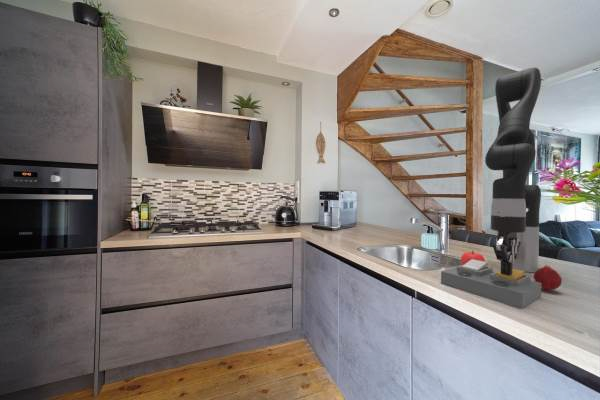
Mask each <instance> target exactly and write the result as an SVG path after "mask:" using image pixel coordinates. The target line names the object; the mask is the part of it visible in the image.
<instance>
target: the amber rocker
mask: <svg viewBox="0 0 600 400" xmlns="http://www.w3.org/2000/svg"><path fill="white" fill-rule="evenodd" d="M495 272H496V271H495ZM524 275H525V272H524V271H520V270H515V269H512V275H510V276H508V275H504V274H501V269H500V270H498V271H497V272H496V276H499V277H504V278H508V279H512V280H516V281H517V280H518V279H520V278H521V277H523V276H524Z"/></svg>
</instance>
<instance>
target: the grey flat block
mask: <svg viewBox="0 0 600 400" xmlns="http://www.w3.org/2000/svg"><path fill="white" fill-rule="evenodd" d="M462 266H463V265H458V266H455V267H452V268H451V267H450V268H447V269H444V270H440V271H441V272H440V284H441V285H445V286H447V287H448V286H449V287H451V288H454V289H458V290H461V291H464V292H467V293H470V294H473V295H477V296H479V297H484V298H486V299H489V300H492V301H496V302H499V303H502V304H505V305H508V306H511V307H515V308H518V309H521V310H524V309H525V308H527V307H528V306H530V305H531V304H532V303H534V302H535V301H537V300H539V299H540V298H541V297H542V287H541V283H540V282H536V281H535V280H531V275H527V274H524V276H523V277H521V278H520V279H518V280H517V281H516V280H512V279H508V278H504V277H499V276H496V271H494V270H493V269H494V267H491V266H487V267H486V268H484V269H483V270H481V271H474V270H470V269H466V268H462Z"/></svg>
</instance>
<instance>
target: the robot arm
mask: <svg viewBox="0 0 600 400" xmlns="http://www.w3.org/2000/svg"><path fill="white" fill-rule="evenodd" d="M541 76H542V74H541V71H540V69H539V68H538V67H529V68H526V69H523V70H519V71H515V72H511V73H508V74H506V75H501V76H499V77H497V79H496V81H495V88H494V89H495V90H494V91H495V100H496V101H495V102H496V106H497V107H496V109H497V113H498V119H499V120H498V122H499V125H498V129H497V135H496V138H495V139H494V141H493V143H492V144H491V145H490V147H489V148H488V150H487V152H486V155H485V157H484V158H485V159H484V161H485V165H486V166H487V167H486V168H488V169H490V170H491V171H502V177H501V178H500V177H499V178H497V179H494V181H493V183H492V200H491V204H490V230H491V231H496V232H497V236H496V237H495V242H493V243H492V248H493V251H494V255H495V257H496V260H499V262H500V270H501V274H504V275H508V276H510V275H512V269H515V270H520V271H524V273H525V272H526V273H535V272H536V271H537V270H538V269H539V256H540V255H539V252H540V251H539V248H540V245H539V244H540V208H541V200H542V199H541V198H542V191H541V190H542V189H541V187H540V186H539V185H537V184H527V180H528V177H529V173H530V169H532V166H533V164H534V162H535V158H536V153H537V152H536V149H535V147H536V145H535V141H536V139H535V138H536V137H535V134H534V132H533V131H532V130H531V128H530V124H531V118H532V114H533V111H534V109H535V107H536V103H537V100H538V97H539V94H540V90H541V87H542V86H541V85H542V77H541ZM517 101H518V102H517ZM514 102H517V103H516V104H515V105H513V106H512V107H511V105H510V103H514Z"/></svg>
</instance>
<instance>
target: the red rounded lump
mask: <svg viewBox="0 0 600 400" xmlns="http://www.w3.org/2000/svg"><path fill="white" fill-rule="evenodd" d="M533 273H534V274H533V281H535V282H540V283H541V289H543V290H544V291H546V292H549V291H552V290H556V289H558V288H560V287H561V285H562V283H563V281H562V280H563V279H562V276H561V275H560V274H559V273H558V272H557V270H555V269H554V268H552V267H551V266H550V265H549V264H547V263H546V264H544V266H543V267H541V268H538V270H537V271H536V272H533Z"/></svg>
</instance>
